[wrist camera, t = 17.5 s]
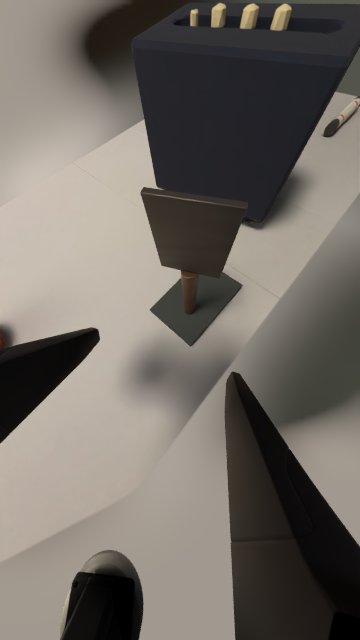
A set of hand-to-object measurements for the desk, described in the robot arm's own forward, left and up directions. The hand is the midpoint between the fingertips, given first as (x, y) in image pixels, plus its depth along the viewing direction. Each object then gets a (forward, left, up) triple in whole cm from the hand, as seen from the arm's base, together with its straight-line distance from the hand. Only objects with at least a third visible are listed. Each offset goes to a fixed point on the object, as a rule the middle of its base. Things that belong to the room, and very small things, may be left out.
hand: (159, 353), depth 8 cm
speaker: (+33, -8, -11) cm, 35 cm away
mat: (+9, -3, -10) cm, 14 cm away
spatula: (+7, -2, -9) cm, 12 cm away
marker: (+54, -38, -11) cm, 67 cm away
